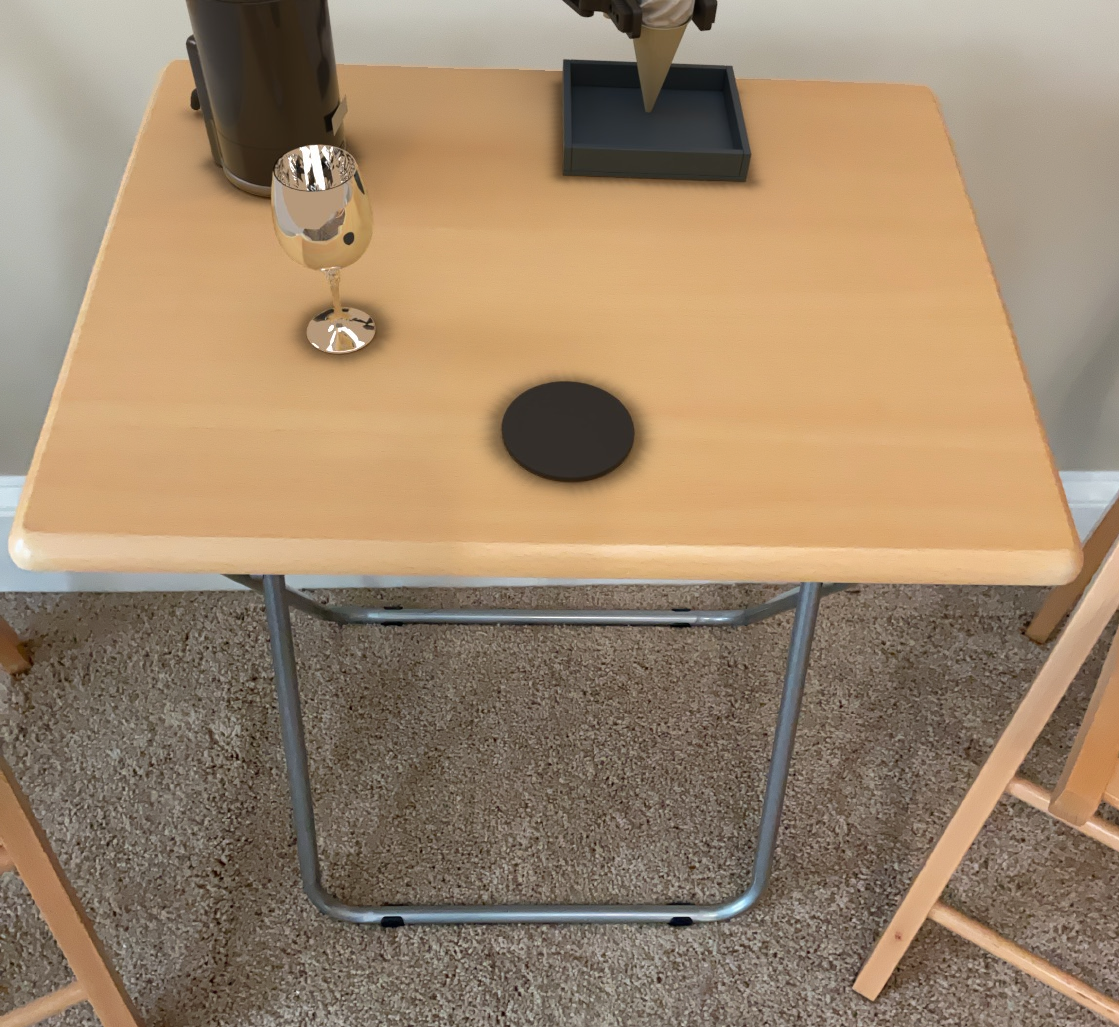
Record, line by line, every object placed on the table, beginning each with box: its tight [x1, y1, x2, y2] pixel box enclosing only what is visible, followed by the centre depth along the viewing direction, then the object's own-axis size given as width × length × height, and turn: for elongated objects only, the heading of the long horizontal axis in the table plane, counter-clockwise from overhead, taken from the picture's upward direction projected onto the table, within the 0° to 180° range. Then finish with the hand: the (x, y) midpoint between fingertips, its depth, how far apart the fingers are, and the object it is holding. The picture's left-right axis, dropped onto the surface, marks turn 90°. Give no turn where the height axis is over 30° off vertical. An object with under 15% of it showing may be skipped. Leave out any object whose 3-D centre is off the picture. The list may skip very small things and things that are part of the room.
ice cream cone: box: [632, 0, 695, 113], centre depth 79 cm, size 5×5×15 cm
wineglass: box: [270, 145, 377, 355], centre depth 63 cm, size 6×6×12 cm
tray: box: [561, 58, 752, 183], centre depth 83 cm, size 14×13×2 cm
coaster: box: [501, 380, 635, 483], centre depth 63 cm, size 8×8×1 cm
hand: (673, 22), depth 77 cm, fingers closed on ice cream cone, 5 cm apart
